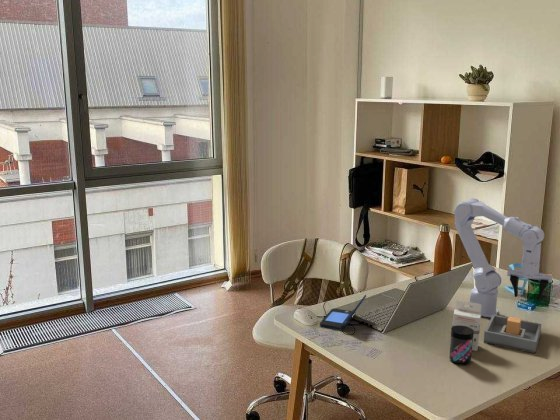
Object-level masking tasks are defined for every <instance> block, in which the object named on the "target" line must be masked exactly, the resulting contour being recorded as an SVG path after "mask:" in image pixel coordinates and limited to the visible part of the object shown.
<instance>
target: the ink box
mask: <svg viewBox="0 0 560 420" xmlns="http://www.w3.org/2000/svg"><path fill="white" fill-rule="evenodd" d="M469 306H473V308H470V307H469ZM481 306H482V305H481V304H477V303H471V302H470V301H466V300H465V301H463V300H458V299H457V300H456V301H455V308H454V312H453V316H452V323H451V324H452V326H451V328H452V327H453V326H457V325H461V326H467V327H470V328H471V329H473V330H474V335H473V345H472V352H477V351H478V348H479V343H480V342H479V341H480V331H481V323H482V316H481Z"/></svg>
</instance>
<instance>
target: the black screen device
mask: <svg viewBox="0 0 560 420" xmlns="http://www.w3.org/2000/svg"><path fill="white" fill-rule="evenodd" d="M366 297H367V294H365V295H364V296H363V297H362V299H361V300H360V301H359V302H358V304H357V305H356V306H355V308H354V309H352V310H346V309H340V308H331V309H330V310H329V312H328V313H327V314H326V315H325V316H324V318H323V319H322V320H321V321H319V326H320V327H322V328H326V329H332V330H337V331H338V330H339V331H342V332H344V331H345V330H346V328H347V326H348V325H349V322H351V320H352V319H353V318H352V315H353V314H354V313H355V314H356V311H357V310H358V309H359V307H360V306H361V304H362V303H363V302H364V300H365V299H366Z"/></svg>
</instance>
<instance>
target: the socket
mask: <svg viewBox="0 0 560 420" xmlns="http://www.w3.org/2000/svg"><path fill="white" fill-rule="evenodd" d="M506 328H507V326H506V325H504V326H503V328H502V330H501V334H505V335H510V336H515V337H519V338H524V336H525V329H522V328H520V335H521V336H520V335H515V334H510V333H505V332H506Z"/></svg>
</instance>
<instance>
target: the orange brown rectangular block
mask: <svg viewBox="0 0 560 420" xmlns="http://www.w3.org/2000/svg"><path fill="white" fill-rule="evenodd" d="M521 320H522V318H519V317H514V316H508V320H507V328H506V333H510V334H515V335H520V328H521Z"/></svg>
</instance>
